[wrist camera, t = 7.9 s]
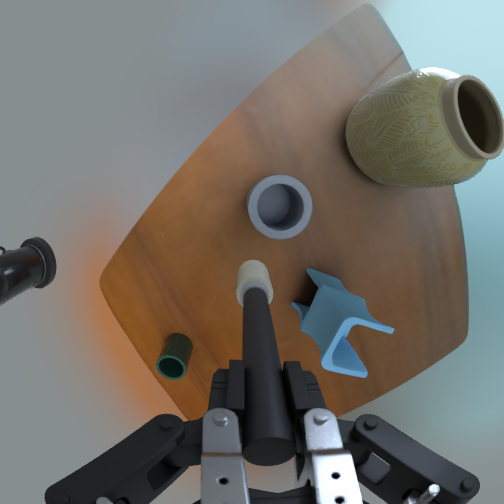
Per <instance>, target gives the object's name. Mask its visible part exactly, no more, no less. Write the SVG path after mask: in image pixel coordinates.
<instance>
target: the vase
mask: <svg viewBox="0 0 504 504" xmlns="http://www.w3.org/2000/svg"><path fill="white" fill-rule="evenodd" d="M345 134H346V143H347V147H348V150H349V153H350V155H351V157H352V159H353V161H354V162H355V164H356V165H357V167H358V168H359V169H360V170H361V171H362V172H363V173H364V174H365V175H366V176H368V177H369V178H371V179H372V180H374V181H375V182H378V183H380V184H382V185H386V186H390V187H397V188H434V187H442V186H449V185H454V184H458V183H461V182H464V181H466V180H469V179H471V178H472V177H474V176H475V175H476V174H478V173H479V172H480V171H481V170H482V168H483V167H484V166H485V165H486V163H487V161H488V159H494V158H496V157H497V156H499V154H500V153H501V152H502V150H503V147H504V120H503V116H502V113H501V110H500V107H499V105H498V103H497V101H496V99H495V97H494V96H493V94H492V92H491V91H490V90H489V88H488V87H487V86H486V85H485V84H484V83H483V82H482V81H480V80H479V79H478V78H476V77H474V76H470V75H462V76H459V75H457V74H455V73H453V72H450V71H448V70H444V69H439V68H422V69H418V70H414V71H410V72H407V73H404V74H401V75H399V76H396V77H394V78H392V79H390V80H388V81H386V82H384V83H383V84H381V85H379V86H378V87H376V88H375V89H373V90H371V91H370V92H369V93H367V94H366V95H365V96H363V97H362V98H361V99H360V100H359V101H358V102H357V103H356V104H355V105H354V107H353V108H352V110H351V111H350V114H349V116H348V119H347V123H346V132H345Z"/></svg>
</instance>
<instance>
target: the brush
mask: <svg viewBox="0 0 504 504" xmlns="http://www.w3.org/2000/svg"><path fill="white" fill-rule="evenodd" d="M236 296H237V300H238V302H239V303H240V305H241V306H242V307H243V351H242V360H244V404H245V409H244V424H243V426H242V453H243V456H244V459H245V460H246V461H248V462H250V463H252V464H255V465H260V466H273V465H279V464H282V463H284V462H287V461H289V460H290V459H291V458H292V457H294V456H295V454H296V452H297V444H296V439H295V434H294V429H293V424H292V419H291V413H290V408H289V403H288V398H287V393H286V388H285V383H284V378H283V373H282V368H281V363H280V358H279V353H278V348H277V343H276V338H275V333H274V328H273V323H272V318H271V313H270V308H269V304H270V302H271V301H272V298H273V289H272V285H271V281H270V278H269V274H268V270H267V268H266V266H265V265H264V264H263V263H262V262H260V261H258V260H248V261H246V262H244V263H243V264H242V265H241V266H240V268H239V270H238V278H237V291H236Z"/></svg>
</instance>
